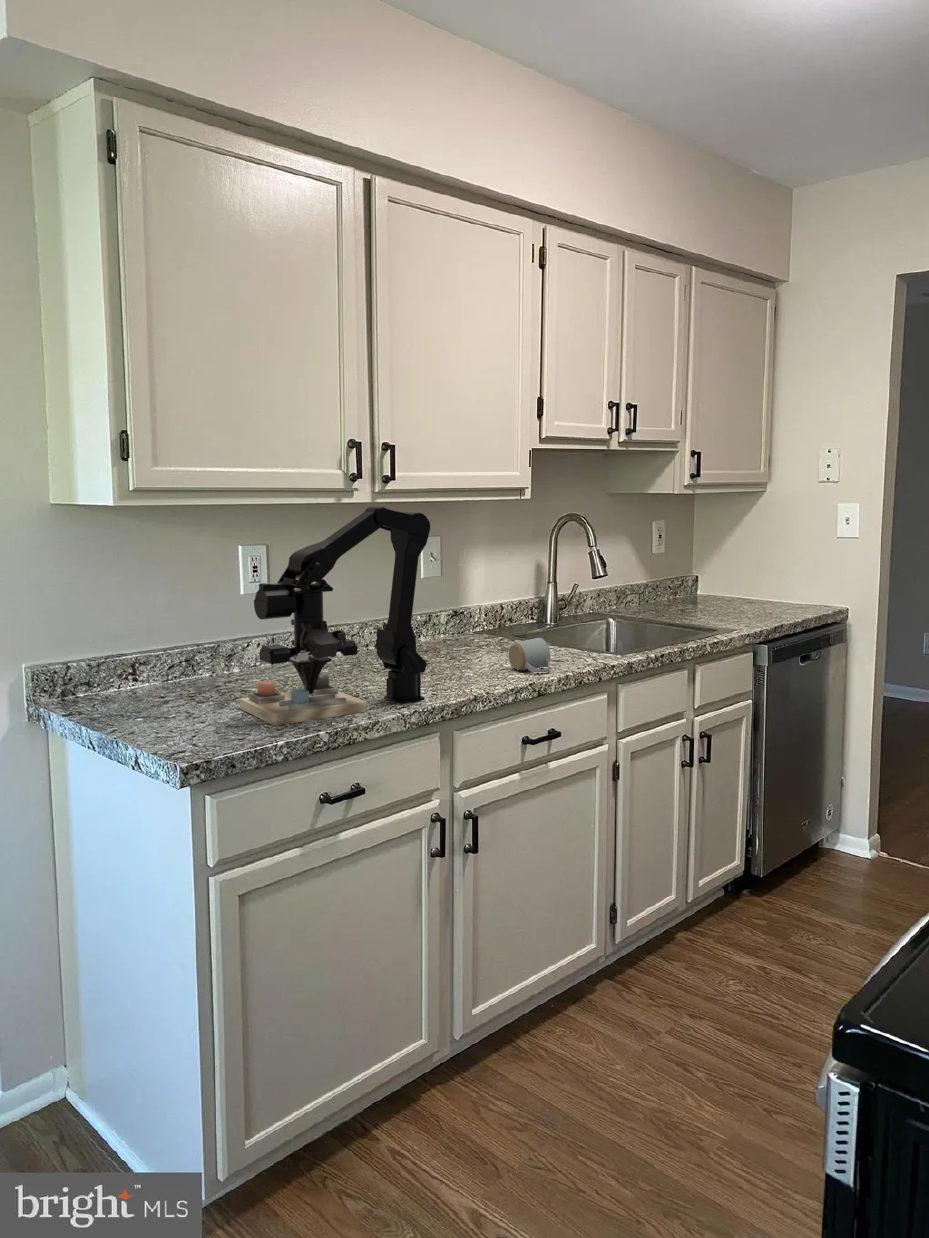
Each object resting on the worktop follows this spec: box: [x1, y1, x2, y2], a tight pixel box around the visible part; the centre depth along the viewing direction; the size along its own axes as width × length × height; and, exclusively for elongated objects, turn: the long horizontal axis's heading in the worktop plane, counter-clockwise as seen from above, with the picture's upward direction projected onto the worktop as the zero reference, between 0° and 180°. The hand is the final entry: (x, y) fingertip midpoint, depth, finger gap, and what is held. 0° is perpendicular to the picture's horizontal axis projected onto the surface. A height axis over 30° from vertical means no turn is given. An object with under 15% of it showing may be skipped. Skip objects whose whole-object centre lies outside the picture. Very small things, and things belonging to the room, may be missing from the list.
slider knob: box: [290, 688, 309, 705], centre depth 190 cm, size 2×3×3 cm
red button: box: [256, 680, 277, 695], centre depth 195 cm, size 4×4×2 cm
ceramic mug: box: [508, 637, 551, 673], centre depth 236 cm, size 11×8×8 cm
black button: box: [315, 673, 330, 688], centre depth 201 cm, size 4×4×2 cm
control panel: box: [239, 684, 368, 726], centre depth 195 cm, size 20×17×3 cm
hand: (310, 693), depth 191 cm, fingers closed
